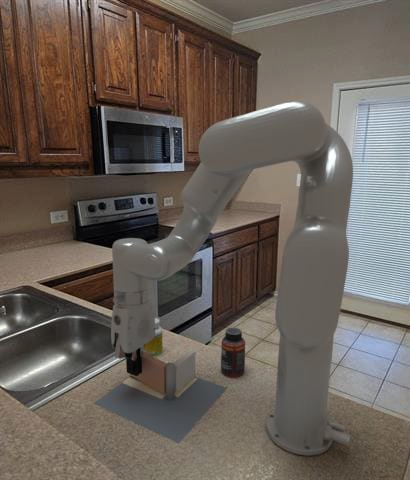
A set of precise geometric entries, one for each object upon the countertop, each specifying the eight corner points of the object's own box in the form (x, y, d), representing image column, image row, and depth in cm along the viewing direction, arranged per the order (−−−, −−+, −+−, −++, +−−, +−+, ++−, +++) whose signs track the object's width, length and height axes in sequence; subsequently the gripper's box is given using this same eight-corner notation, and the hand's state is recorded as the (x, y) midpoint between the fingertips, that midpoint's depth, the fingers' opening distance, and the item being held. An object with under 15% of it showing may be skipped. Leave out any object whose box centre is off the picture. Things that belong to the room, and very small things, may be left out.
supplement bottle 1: (158, 359, 94) (158, 325, 93) (139, 357, 95) (139, 323, 94) (164, 350, 100) (164, 317, 98) (146, 347, 101) (146, 315, 99)
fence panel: (168, 391, 79) (168, 364, 78) (163, 394, 78) (163, 367, 77) (133, 371, 87) (133, 346, 85) (128, 374, 85) (127, 349, 84)
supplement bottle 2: (247, 369, 90) (249, 328, 88) (239, 382, 85) (241, 338, 83) (225, 364, 93) (227, 323, 91) (216, 375, 87) (218, 333, 85)
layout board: (227, 389, 82) (228, 356, 80) (178, 445, 65) (179, 404, 63) (152, 362, 93) (151, 333, 91) (93, 404, 76) (92, 368, 74)
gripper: (121, 310, 68) (124, 395, 72) (166, 288, 81) (167, 362, 84) (93, 303, 72) (97, 385, 75) (140, 283, 85) (142, 354, 88)
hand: (134, 372), depth 80 cm, fingers closed
